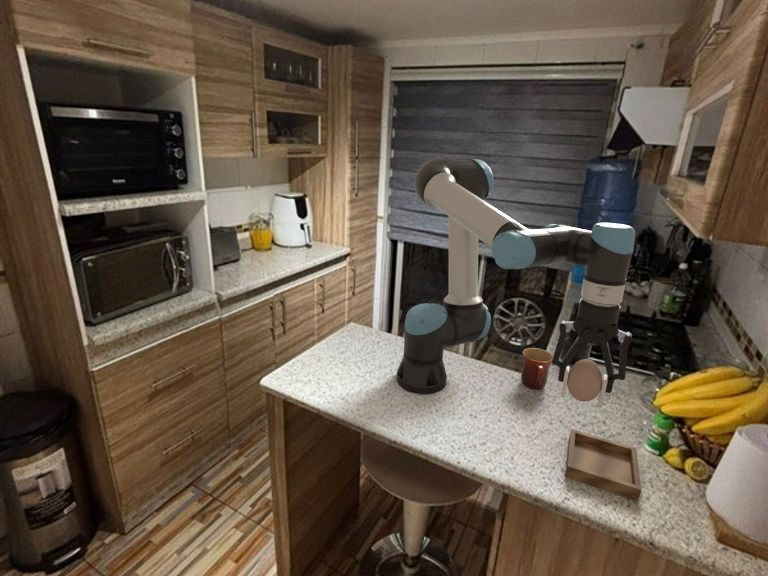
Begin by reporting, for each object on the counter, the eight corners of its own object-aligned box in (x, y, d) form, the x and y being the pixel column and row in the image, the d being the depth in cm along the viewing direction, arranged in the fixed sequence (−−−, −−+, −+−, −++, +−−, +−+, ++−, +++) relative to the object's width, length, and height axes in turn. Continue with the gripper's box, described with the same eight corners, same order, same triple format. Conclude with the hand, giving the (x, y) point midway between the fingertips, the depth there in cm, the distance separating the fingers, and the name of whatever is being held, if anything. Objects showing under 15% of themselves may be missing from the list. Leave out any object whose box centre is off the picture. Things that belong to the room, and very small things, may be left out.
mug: (516, 375, 131) (521, 346, 128) (545, 379, 130) (551, 349, 126) (520, 396, 120) (525, 365, 117) (552, 401, 119) (558, 369, 115)
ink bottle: (592, 360, 142) (600, 328, 138) (583, 369, 136) (591, 336, 132) (564, 350, 148) (570, 319, 144) (554, 359, 142) (560, 327, 138)
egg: (602, 400, 92) (611, 361, 89) (590, 412, 87) (598, 371, 84) (572, 387, 96) (579, 349, 93) (558, 398, 92) (565, 359, 89)
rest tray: (565, 476, 92) (567, 466, 91) (568, 439, 103) (571, 429, 102) (637, 501, 86) (641, 490, 85) (633, 458, 98) (636, 447, 97)
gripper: (546, 297, 86) (531, 395, 93) (659, 315, 77) (633, 421, 84) (551, 287, 92) (537, 379, 99) (655, 303, 83) (631, 403, 91)
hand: (581, 398), depth 92 cm, fingers closed on egg, 7 cm apart
